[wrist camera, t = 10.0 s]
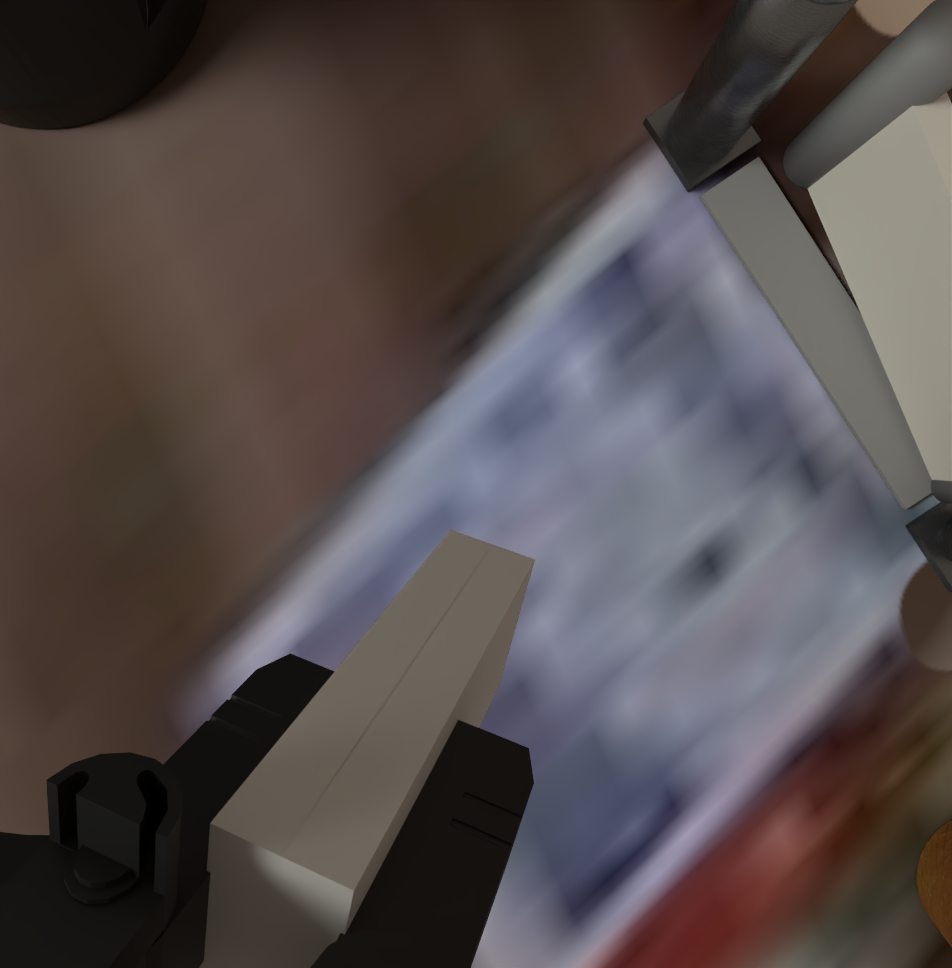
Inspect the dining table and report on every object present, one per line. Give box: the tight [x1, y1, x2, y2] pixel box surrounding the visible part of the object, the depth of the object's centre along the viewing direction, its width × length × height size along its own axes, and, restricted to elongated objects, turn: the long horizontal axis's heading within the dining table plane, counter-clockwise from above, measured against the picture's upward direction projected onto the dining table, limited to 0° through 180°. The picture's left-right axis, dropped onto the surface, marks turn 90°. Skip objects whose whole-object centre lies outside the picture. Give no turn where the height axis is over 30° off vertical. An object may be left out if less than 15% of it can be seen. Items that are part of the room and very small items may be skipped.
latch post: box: [643, 0, 858, 192], centre depth 26 cm, size 4×4×15 cm
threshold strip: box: [700, 157, 932, 509], centre depth 34 cm, size 17×3×1 cm, turn 34°
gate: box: [783, 0, 952, 504], centre depth 28 cm, size 17×2×10 cm, turn 24°
